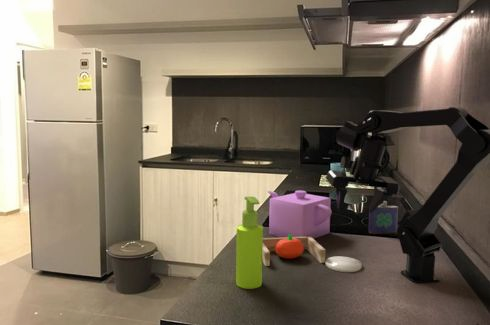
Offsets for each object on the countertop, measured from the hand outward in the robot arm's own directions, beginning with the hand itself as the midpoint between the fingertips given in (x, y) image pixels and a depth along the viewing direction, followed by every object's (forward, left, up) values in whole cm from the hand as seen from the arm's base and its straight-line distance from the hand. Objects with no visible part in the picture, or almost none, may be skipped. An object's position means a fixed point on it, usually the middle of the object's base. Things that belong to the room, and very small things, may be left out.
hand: (354, 210), depth 113 cm
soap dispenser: (-15, +32, -13) cm, 38 cm away
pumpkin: (+1, +18, -13) cm, 22 cm away
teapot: (+23, +9, -13) cm, 27 cm away
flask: (+19, -19, -13) cm, 30 cm away
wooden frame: (+1, +18, -12) cm, 22 cm away
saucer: (-7, +6, -12) cm, 16 cm away
